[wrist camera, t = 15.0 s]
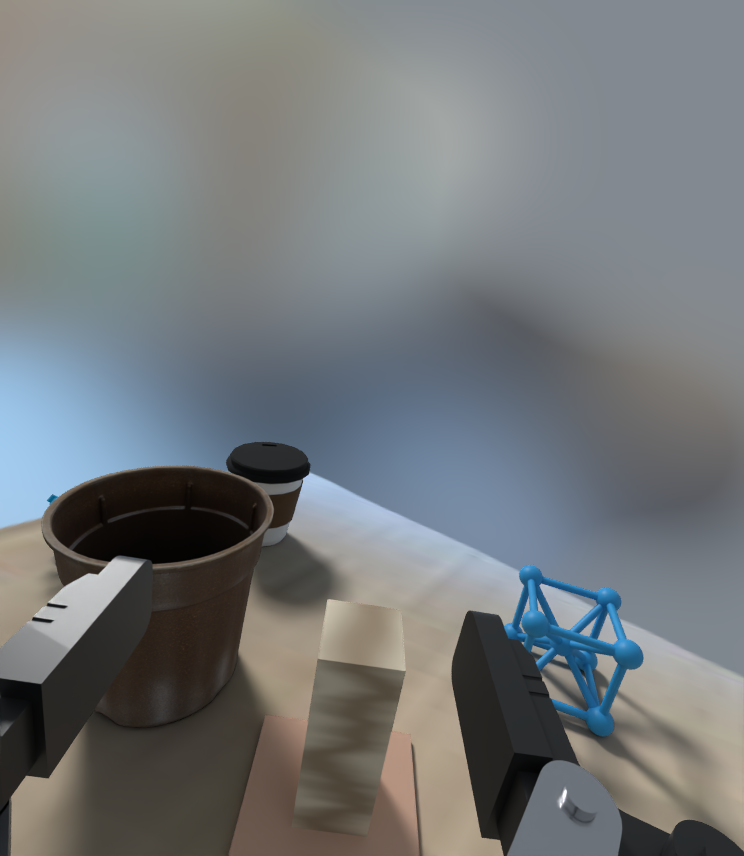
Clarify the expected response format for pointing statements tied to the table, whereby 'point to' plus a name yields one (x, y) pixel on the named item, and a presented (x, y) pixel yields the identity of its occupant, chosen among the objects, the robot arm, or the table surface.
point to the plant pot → (168, 576)
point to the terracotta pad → (276, 794)
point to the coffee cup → (273, 479)
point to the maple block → (350, 717)
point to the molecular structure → (576, 644)
